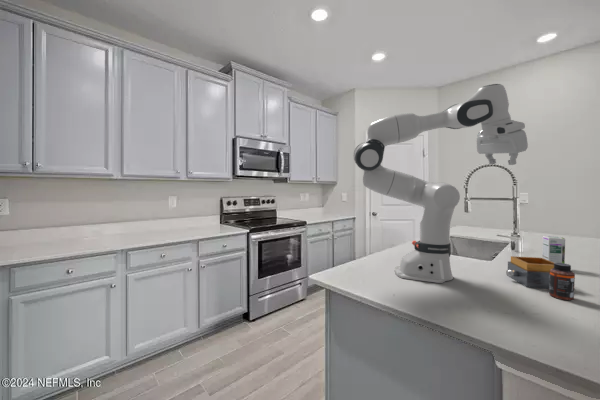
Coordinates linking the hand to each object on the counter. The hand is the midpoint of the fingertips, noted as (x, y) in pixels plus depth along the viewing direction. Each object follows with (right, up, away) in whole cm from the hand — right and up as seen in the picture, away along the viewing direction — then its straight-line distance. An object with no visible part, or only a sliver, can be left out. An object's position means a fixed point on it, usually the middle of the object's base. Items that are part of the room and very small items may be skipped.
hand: (502, 164), depth 100 cm
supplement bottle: (+10, -47, -12) cm, 49 cm away
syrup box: (+37, -45, +18) cm, 61 cm away
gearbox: (+12, -46, +2) cm, 47 cm away
